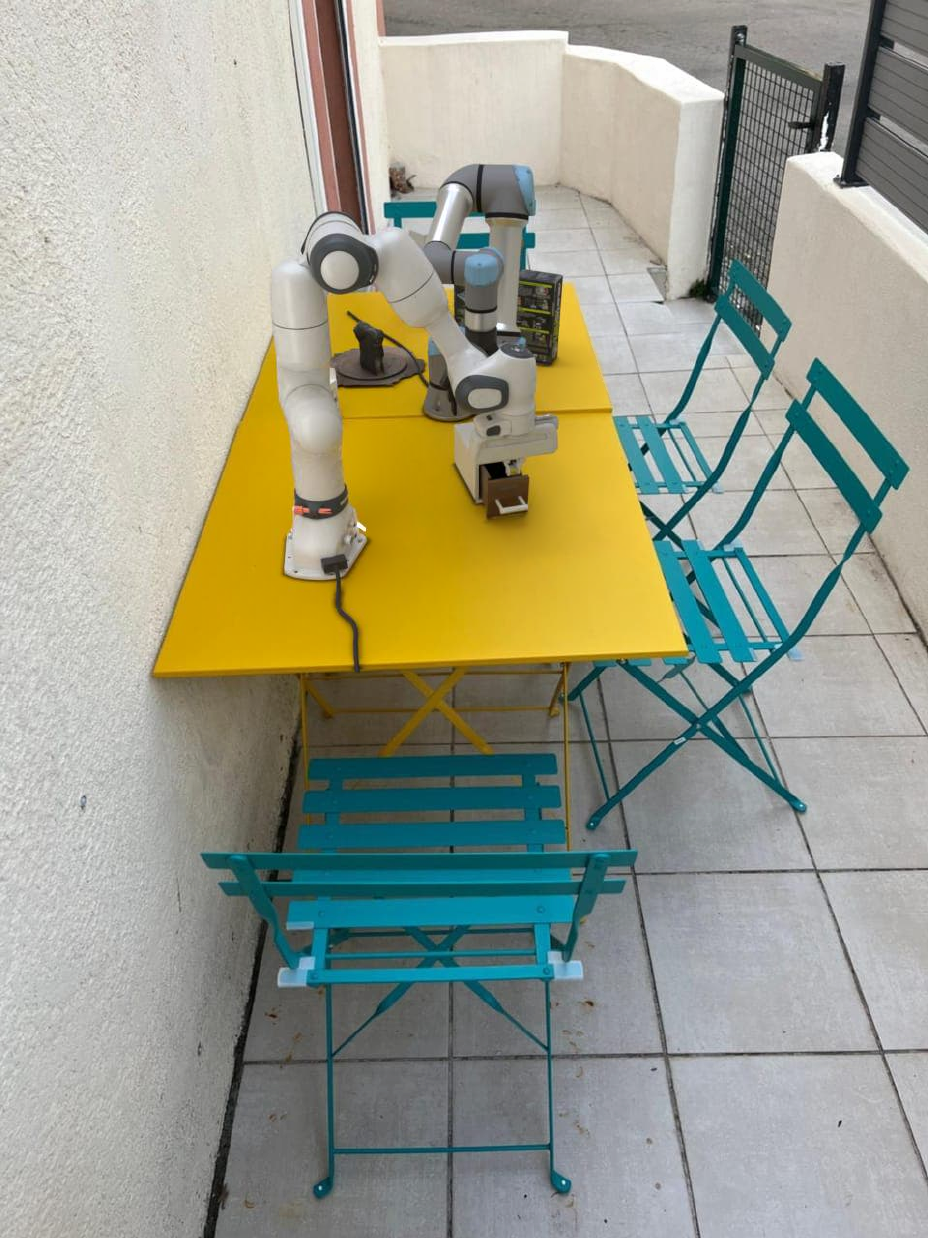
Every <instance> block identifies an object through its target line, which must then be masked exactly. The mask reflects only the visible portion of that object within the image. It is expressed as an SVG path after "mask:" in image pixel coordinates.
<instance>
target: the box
mask: <svg viewBox="0 0 928 1238" xmlns="http://www.w3.org/2000/svg"><path fill="white" fill-rule="evenodd" d="M563 279H564V275H563V274H561V273H553V272H547V271H540V270H534V269H526V268H520V271H519V286H518V301H517V316H516V325H517V327H518V328H519V329H520V330H521V337H523V338H524V339H525V340H526V344H525V348H527V349H528V350H529V351H530V352H531V353H532V354H533V355H534V357H535V361H536V365H541V366H548V367H550V366H551V365H552V364H553V363H554V362H555V360H556V359H557V358H558V351H559V350H558V349H559V335H560V321H561V306H562V293H563V292H562V291H563V283H564V282H563V281H564V280H563ZM453 317H454V319H455V320H456V322H457V324H458V325H459V326H461V327H464V328H465V327H466V325H465V285H453Z"/></svg>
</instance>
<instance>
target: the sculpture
mask: <svg viewBox="0 0 928 1238" xmlns="http://www.w3.org/2000/svg"><path fill="white" fill-rule="evenodd" d="M352 332H353V335H354V337H355V338H356V340H357V342H358V347H357V348H350V349H349V350H345V351H343V352H335V353H333V355H332V357H331V360H330V368H334V369H335V372H336V379H337V387H339V386H340V385H342V386H344V387H346V386H355V385H358V386H359V385H360V386H362V385H363V386H371V385H372V386H376V385H378V386H379V385H388V386H391V385H392V386H394V387H396V386H395V385H394V384H395V383H399V382H400V380H401V379H403V378H407V377H411V376H412V375H414V374H416V373H417V374H418V369H417V366H416V364H415V362H414V361H413V359H412V357H411V356H410V355H409V353H407V352H406V351H405V350H404V349H403V348H401V347H396V346H389V345H387V346H386V345H383V342H384V333H385V332H384V331H383V330H382V329H381V328H376V327H374V326H373V325H371V324H369V323H368V322H366V321H363V320H361V321H359V322H358V321H357V324H355V326H353V329H352ZM407 350H408V351H409V352H410V353H411V354H412V355H413V356H414V358H415V359H416V361H417V363H418V365H419V368H420V371H421V372H422V371H424V370H426V362H425V360H424V359H423V358H417V357H416V356H415V355H414V352H413V351H412V350H409V349H407ZM393 383H394V384H393Z"/></svg>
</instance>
